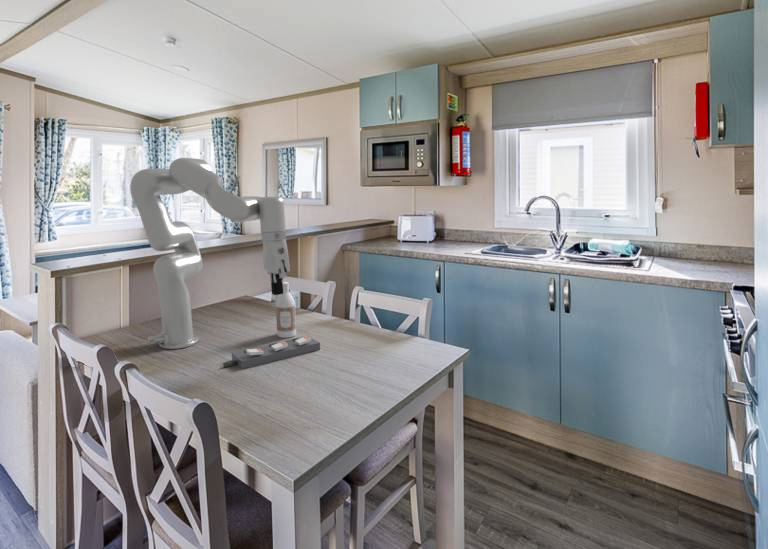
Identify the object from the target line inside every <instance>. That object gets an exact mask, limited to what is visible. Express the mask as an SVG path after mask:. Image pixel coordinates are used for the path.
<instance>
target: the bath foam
mask: <svg viewBox="0 0 768 549" xmlns="http://www.w3.org/2000/svg"><path fill="white" fill-rule="evenodd" d="M296 315H297V314H296V302H295V299H294V297H293V295H292V294H291V293H290V284H289V282H288V281H283V294H279V295H278V297H277V299H276V300H275V317H276V318H275V319H276V334H277V337H279V338H282V339H283V338H284V339H287V338H294V337H295V336H297V321H296V320H297V319H296Z"/></svg>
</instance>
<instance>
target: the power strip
mask: <svg viewBox="0 0 768 549" xmlns="http://www.w3.org/2000/svg"><path fill="white" fill-rule="evenodd" d="M305 336H306V335H303V336H300V337H296V338H294V337H293V338H291V339H286V340H281V341H277V342H273V343H268V344H263V345H260V346H255V347H251V348H249V349H261V350H262V351H264V353H263V354H260V355H249V354H247V353H246V349H247V348H245V349H242V350H241V349H240V350H237V351H234V352H233V351H232V352H231V360H232V361H229V362H225V363H223V364H222V365H223V368H228V367H233V366H238V367H239V368H240V369H242V370H244V369H249V368H253V367H255V366H260V365H263V364H269V363H272V362H276V361H280V360H283V359H288V358H292V357H296V356H300V355H305V354H308V353H312V352H316V351H320V350H321V342H320V341H318V340H316V339H314V338H312V337H310V336H309V335H307V336H308V337H309V338H311V341H310V342H307V343H305V344H303V345H298V344H296V343H295V340H297V339H300V338H302V337H305ZM282 341H284V342H286V343H287V344H288V347H285V348H283V349H280V350H278V351H275V350H273V349H272V348H271V346H272V345H275V344H277V343H280V342H282Z"/></svg>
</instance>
